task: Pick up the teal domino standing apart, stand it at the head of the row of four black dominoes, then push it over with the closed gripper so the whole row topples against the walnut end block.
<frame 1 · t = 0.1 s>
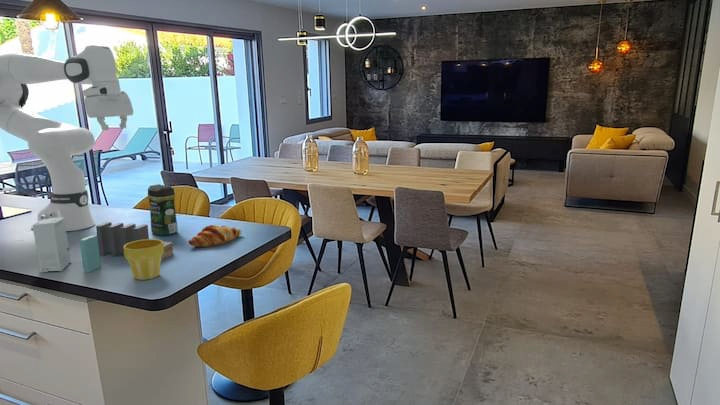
hand: (114, 129, 173), 39 cm above the table, tool pointing down, fingers open, 8 cm apart
domino 3: (119, 254, 154), on the table
domino 5: (143, 256, 153), on the table
plant pot: (146, 276, 136), on the table
skincare box: (56, 268, 142), on the table
domino 1: (92, 269, 141), on the table
domino 4: (131, 255, 154), on the table
coffee jar: (164, 233, 178), on the table
domino 2: (107, 253, 155), on the table
end block: (160, 257, 151), on the table
croissant: (217, 243, 168), on the table
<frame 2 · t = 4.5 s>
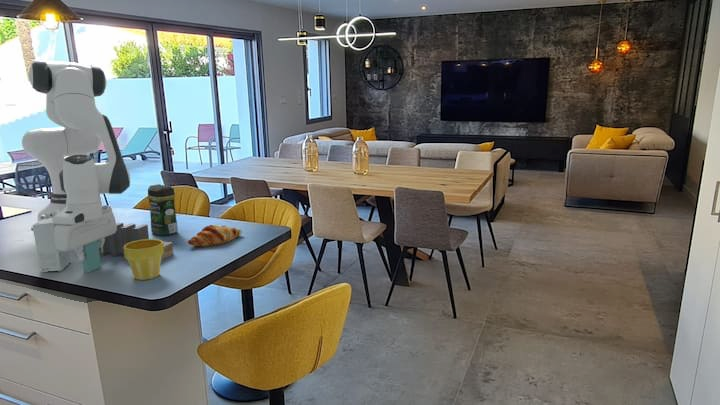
hand: (90, 256, 140), 4 cm above the table, tool pointing down, fingers closed on domino 1, 5 cm apart
domino 1: (92, 269, 141), on the table, touching gripper
everything else where it was.
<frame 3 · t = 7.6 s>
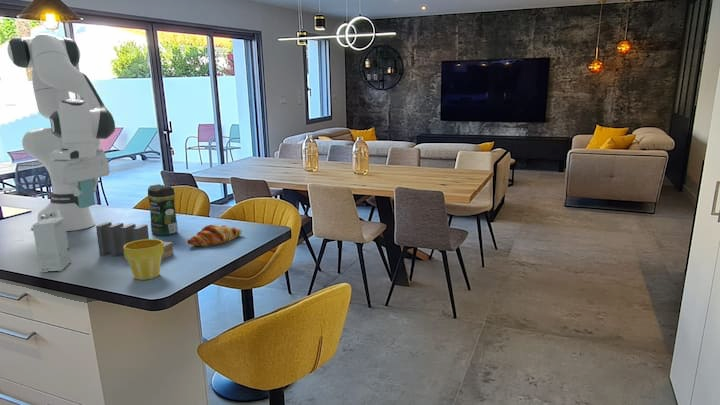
hand: (85, 193, 152), 20 cm above the table, tool pointing down, fingers closed on domino 1, 5 cm apart
domino 1: (87, 206, 153), point 16 cm above the table, touching gripper
everything else where it was.
when the fingers open (4 cm above the table, at t = 10.6 s): domino 1 stays where it is, on the table.
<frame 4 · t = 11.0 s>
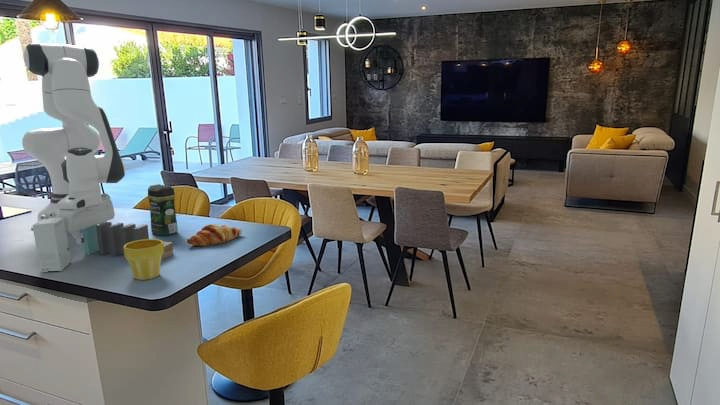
hand: (91, 239, 155), 4 cm above the table, tool pointing down, fingers open, 8 cm apart
domino 1: (93, 251, 156), on the table
everything else where it was.
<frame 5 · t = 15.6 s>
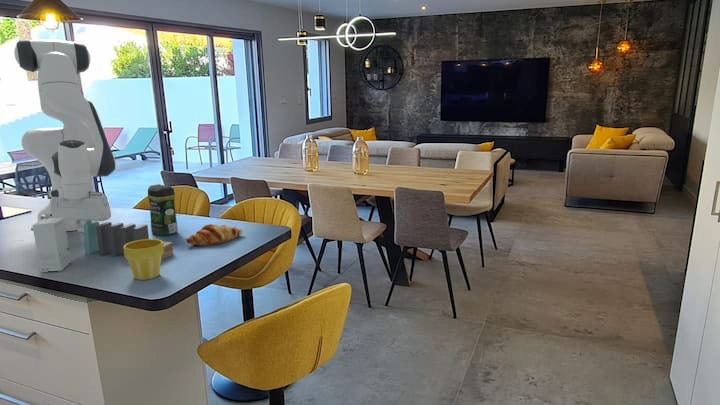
hand: (83, 232, 155), 7 cm above the table, tool pointing down, fingers closed
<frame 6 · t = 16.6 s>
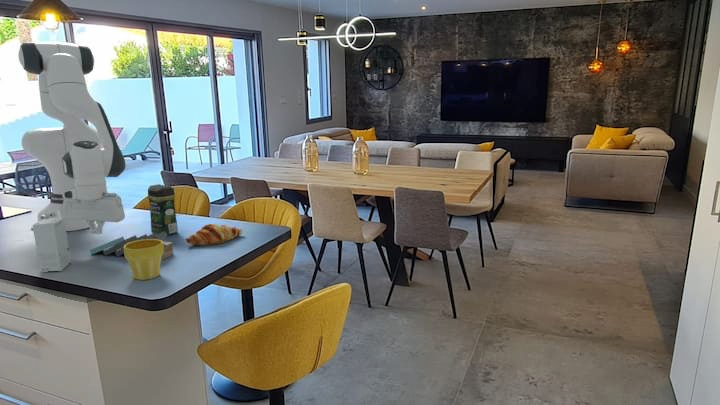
hand: (96, 233, 154), 7 cm above the table, tool pointing down, fingers closed
domino 3: (121, 252, 154), point 1 cm above the table, tilted 57°, touching domino 2, domino 4
domino 5: (141, 252, 153), point 1 cm above the table, tilted 51°, touching domino 4, end block
domino 1: (95, 250, 156), point 1 cm above the table, tilted 67°, touching domino 2
domino 4: (132, 253, 153), point 1 cm above the table, tilted 51°, touching domino 3, domino 5
domino 2: (109, 251, 155), point 1 cm above the table, tilted 62°, touching domino 1, domino 3
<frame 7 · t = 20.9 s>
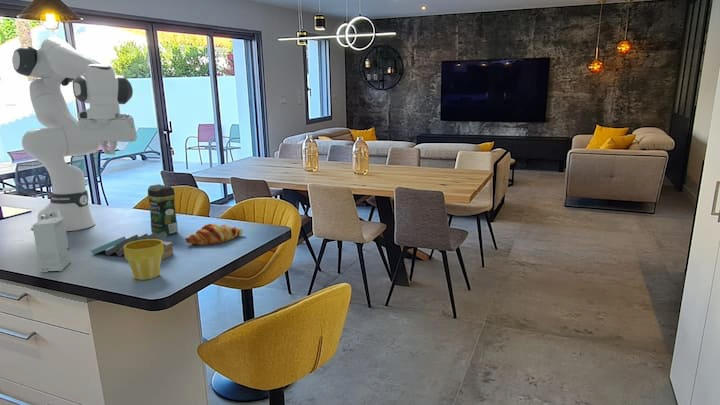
hand: (110, 154, 162), 31 cm above the table, tool pointing down, fingers closed
at the end: domino 5 tilted 51°; domino 1 tilted 66°; the gripper is holding nothing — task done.
